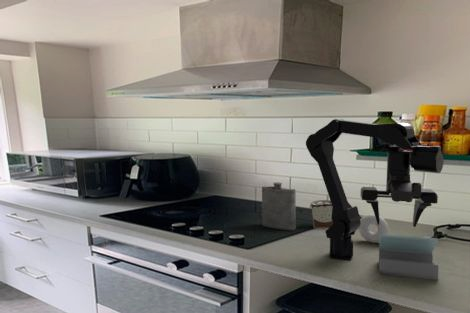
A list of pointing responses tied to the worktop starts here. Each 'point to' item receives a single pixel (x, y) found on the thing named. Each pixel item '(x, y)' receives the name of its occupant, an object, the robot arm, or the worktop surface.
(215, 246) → the worktop surface
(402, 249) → the cover
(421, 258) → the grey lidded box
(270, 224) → the flask
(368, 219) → the donut
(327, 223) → the food container
